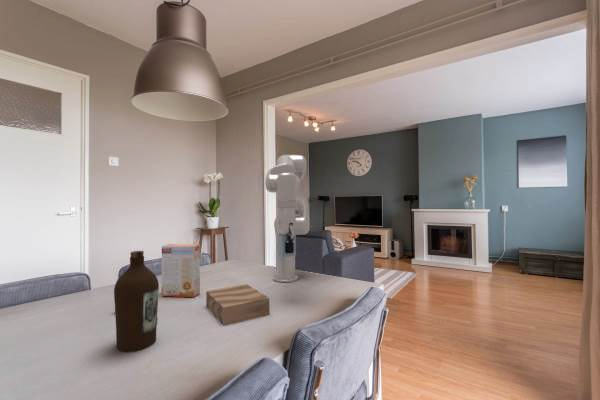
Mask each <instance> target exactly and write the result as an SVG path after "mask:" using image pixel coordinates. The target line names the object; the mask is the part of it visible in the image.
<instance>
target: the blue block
mask: <svg viewBox="0 0 600 400" xmlns="http://www.w3.org/2000/svg"><path fill="white" fill-rule="evenodd" d="M288 237H289V236H288ZM285 243H286V236H285V235H282V234H278V255H280V256H281V257H290V256H295V257H296V256H297V235H295V236H294V252H293V253H285Z"/></svg>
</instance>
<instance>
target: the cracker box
mask: <svg viewBox="0 0 600 400" xmlns="http://www.w3.org/2000/svg"><path fill="white" fill-rule="evenodd" d="M200 293H201V245H200V243H199V244H198V243H197V244H196V243H195V244H194V243H193V244H192V243H191V244H189V243H187V244H186V243H185V244H184V243H168V244H164V245H161V297H162V296H174V298H175V297H176V298H196V296H198V295H199V294H200Z"/></svg>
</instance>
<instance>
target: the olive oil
mask: <svg viewBox="0 0 600 400" xmlns="http://www.w3.org/2000/svg"><path fill="white" fill-rule="evenodd" d="M144 252H145V251H144V250H134V251H130V257H129V267H128V268H127V269H126V270H125V271H124V272H122V274H121V275H120V276H119V277H118V279H117V280H116V282H115V285H114V287H113V295H114V296H113V297H114V300H113V301H114V315H115V316H114V317H115V334H116V340H115V341H116V349H117V350H118V352H119V351H120V352H122V353H123V352H125V353H126V352H127V353H128V352H129V353H130V352H131V353H132V352H136V351H141V350H144V349H147V348H149V347H150V346H152V345H153V344H155V343H156V340H157V325H158V306H159V305H158V304H159V290H160V288H159V287H160V285H159V280H158V277H157V275H156V274H155V273H154V272H153V271H152V270H151V269H149V268H148V267H147V266H146V265H145V256H144Z"/></svg>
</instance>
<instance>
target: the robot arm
mask: <svg viewBox="0 0 600 400" xmlns="http://www.w3.org/2000/svg"><path fill="white" fill-rule="evenodd" d="M306 171H307V159H306V158H305V156H304V155H303V154H302V155H301V154H283V155H280V156H279V157H278V159H277V161H276V164H275V165H274V166H273V167H271V168H269V169H268V171H267V172H266V175H265V189H266V190H267V192H269V193H273V194H274V193H275V194H276V210H277V217H276V218H275V219H274V222H273V227H274V235H275V275H273V276H272V280H273V281H275V282H277V283H291V282H295V281H298V279H299V276H298V275H296V256H290V257H281V256H280V255H278V234H282V235H285V236H286V243H285V253H293V252H294V236H295V235H296V236H297V235H298V236H299V235H306V234H308V233H309V231H310V217H309V214H310V213H309V205H308V204H309V203H308V200H307V199H306V198H305V197H303V196H297V192H298V191H299V189H300V188H301V181H302V180H304V179H305V175H306ZM288 236H289V237H288Z"/></svg>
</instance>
